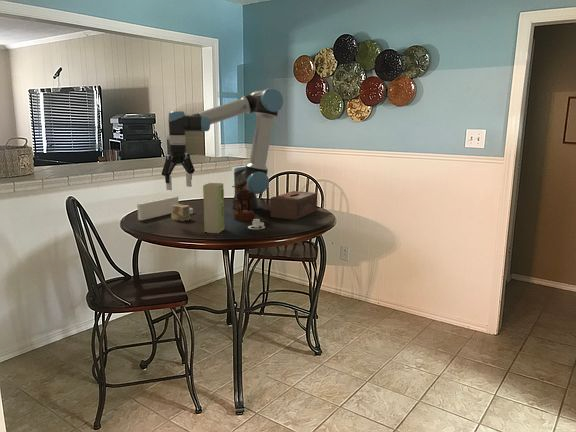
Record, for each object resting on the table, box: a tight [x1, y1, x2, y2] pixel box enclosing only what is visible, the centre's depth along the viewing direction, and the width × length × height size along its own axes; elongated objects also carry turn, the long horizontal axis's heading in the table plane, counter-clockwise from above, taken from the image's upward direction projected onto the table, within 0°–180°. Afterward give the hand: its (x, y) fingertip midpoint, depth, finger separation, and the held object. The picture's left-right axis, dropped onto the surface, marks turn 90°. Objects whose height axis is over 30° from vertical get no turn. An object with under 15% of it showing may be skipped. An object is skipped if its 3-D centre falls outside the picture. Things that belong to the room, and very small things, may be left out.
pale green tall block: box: [202, 182, 225, 234], centre depth 207 cm, size 8×7×21 cm
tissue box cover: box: [269, 190, 318, 221], centre depth 246 cm, size 26×14×10 cm, turn 153°
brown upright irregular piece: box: [231, 180, 256, 222], centre depth 233 cm, size 15×11×20 cm
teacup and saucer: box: [247, 218, 266, 230], centre depth 216 cm, size 9×8×4 cm
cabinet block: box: [171, 203, 191, 222], centre depth 232 cm, size 7×5×7 cm
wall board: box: [136, 196, 194, 221], centre depth 239 cm, size 12×28×8 cm, turn 149°
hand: (179, 188), depth 229 cm, fingers open, 13 cm apart
